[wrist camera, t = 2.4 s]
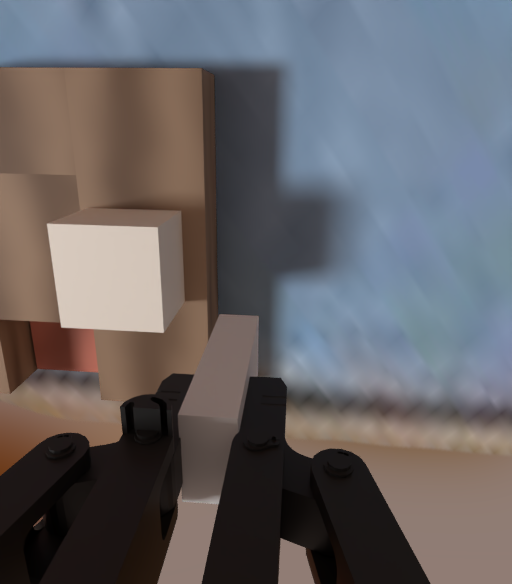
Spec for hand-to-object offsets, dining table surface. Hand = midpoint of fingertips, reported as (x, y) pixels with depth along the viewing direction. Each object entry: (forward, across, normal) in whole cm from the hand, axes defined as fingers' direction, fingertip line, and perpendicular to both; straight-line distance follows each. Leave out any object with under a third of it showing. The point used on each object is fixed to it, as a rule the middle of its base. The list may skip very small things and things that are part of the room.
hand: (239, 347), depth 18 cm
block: (+12, +8, 0) cm, 15 cm away
